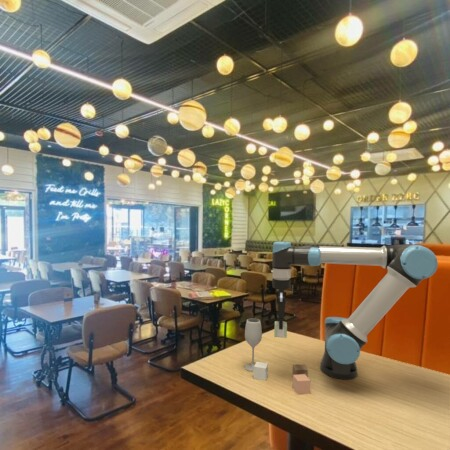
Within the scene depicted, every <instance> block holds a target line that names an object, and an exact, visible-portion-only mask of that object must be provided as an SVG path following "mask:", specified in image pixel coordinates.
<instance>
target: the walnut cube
mask: <svg viewBox="0 0 450 450" xmlns="http://www.w3.org/2000/svg"><path fill="white" fill-rule="evenodd" d="M299 374H305V375H306V376H307V377H308V378H309V376H308V374H309V372H308V368H307V366H306V364H292V376H293V375H299Z"/></svg>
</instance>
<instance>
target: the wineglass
mask: <svg viewBox="0 0 450 450" xmlns="http://www.w3.org/2000/svg"><path fill="white" fill-rule="evenodd" d="M244 329H245V330H244V338H245V341H246V343H247V344H248V345H250V347H251V350H252V351H251V352H252V354H251V356H252V357H251V359H252V360H251V363H247V364H245V365H244V369H245V370H246V371H248V372H253V373H254V365H255V347H257V346H258V345H259V344H260V343H261V341H262V338H263V332H262V323H261V320H260V319H259V318H255V317H253V318H252V317H251V318H248V319H246V322H245V327H244Z"/></svg>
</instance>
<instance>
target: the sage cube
mask: <svg viewBox="0 0 450 450" xmlns="http://www.w3.org/2000/svg"><path fill="white" fill-rule="evenodd" d="M287 323H288V322H287V321H284V337H280V338H283V339H287V337H288V333H287V332H288V324H287ZM277 329H278V321H276V320H275V321H274V335H273V337H274V338H278V337H277Z"/></svg>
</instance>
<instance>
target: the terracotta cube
mask: <svg viewBox="0 0 450 450" xmlns="http://www.w3.org/2000/svg"><path fill="white" fill-rule="evenodd" d="M292 389H293V390H294V392H295V394H297V395H308V394H311V379H310V378H309V376H308V377H307V376H306V375H305V374H299V375H293V374H292Z"/></svg>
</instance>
